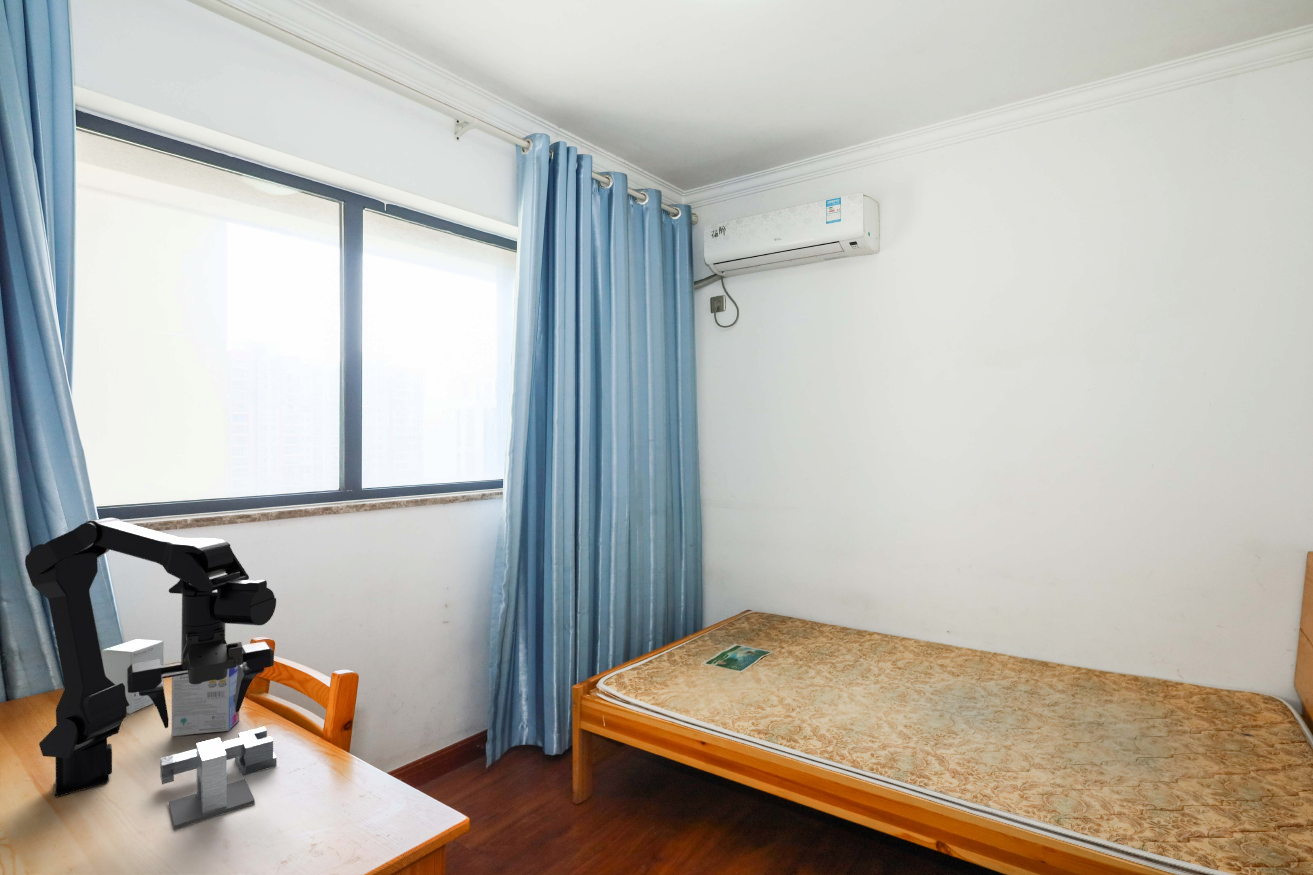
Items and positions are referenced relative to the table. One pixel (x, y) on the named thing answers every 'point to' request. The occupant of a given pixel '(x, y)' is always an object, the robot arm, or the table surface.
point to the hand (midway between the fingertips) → (202, 718)
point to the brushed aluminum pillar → (211, 775)
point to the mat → (190, 812)
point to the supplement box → (126, 655)
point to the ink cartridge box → (204, 705)
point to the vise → (227, 755)
